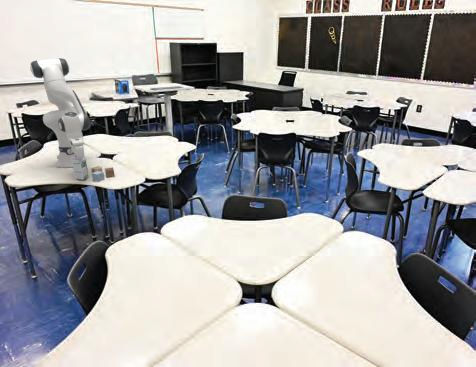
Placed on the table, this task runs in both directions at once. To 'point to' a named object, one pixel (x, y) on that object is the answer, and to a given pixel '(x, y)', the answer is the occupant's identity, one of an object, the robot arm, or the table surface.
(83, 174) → the syrup box
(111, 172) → the walnut cube
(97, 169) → the maple cube
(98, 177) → the slate blue cube
